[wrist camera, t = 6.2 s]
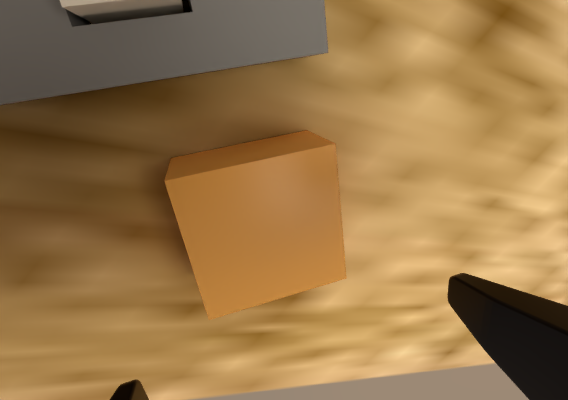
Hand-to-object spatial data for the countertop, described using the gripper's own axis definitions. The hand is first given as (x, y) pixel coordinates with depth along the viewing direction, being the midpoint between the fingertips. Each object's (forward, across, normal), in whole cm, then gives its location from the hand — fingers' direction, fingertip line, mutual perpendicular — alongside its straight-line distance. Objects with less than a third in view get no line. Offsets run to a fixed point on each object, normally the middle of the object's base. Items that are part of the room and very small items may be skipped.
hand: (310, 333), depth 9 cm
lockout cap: (+10, 0, 0) cm, 10 cm away
